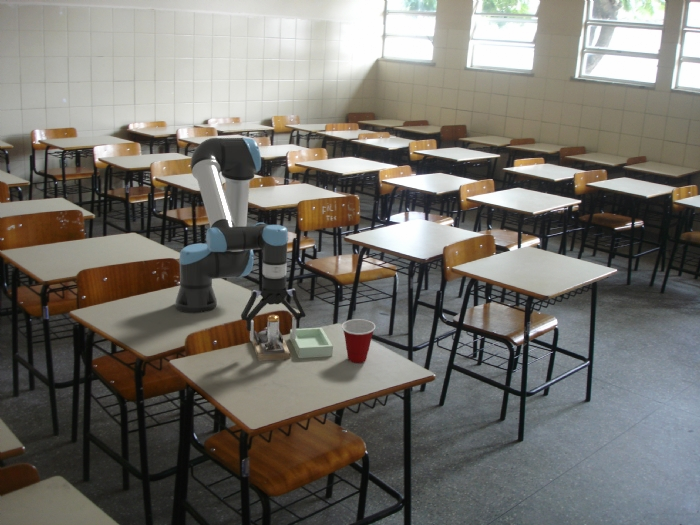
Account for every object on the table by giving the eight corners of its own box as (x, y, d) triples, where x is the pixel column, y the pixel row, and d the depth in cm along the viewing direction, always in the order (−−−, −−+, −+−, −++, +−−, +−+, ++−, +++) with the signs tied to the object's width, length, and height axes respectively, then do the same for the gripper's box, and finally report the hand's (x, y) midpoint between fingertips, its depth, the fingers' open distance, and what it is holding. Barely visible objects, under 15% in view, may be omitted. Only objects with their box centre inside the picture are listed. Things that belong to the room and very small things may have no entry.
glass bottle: (266, 347, 228) (266, 315, 225) (277, 346, 229) (278, 314, 226) (267, 352, 225) (268, 319, 221) (279, 351, 226) (280, 318, 222)
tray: (289, 338, 241) (290, 329, 240) (321, 337, 244) (321, 327, 243) (299, 358, 226) (299, 348, 225) (332, 356, 229) (332, 346, 228)
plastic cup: (332, 360, 226) (334, 325, 223) (352, 350, 235) (354, 316, 231) (360, 370, 220) (363, 334, 217) (379, 359, 229) (382, 324, 225)
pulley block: (251, 340, 237) (251, 327, 236) (281, 339, 240) (281, 325, 239) (258, 360, 223) (258, 346, 221) (289, 358, 225) (290, 344, 224)
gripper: (235, 280, 213) (234, 345, 219) (316, 277, 219) (313, 340, 225) (232, 272, 220) (232, 336, 226) (311, 270, 226) (308, 332, 232)
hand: (272, 338), depth 226 cm, fingers open, 13 cm apart
